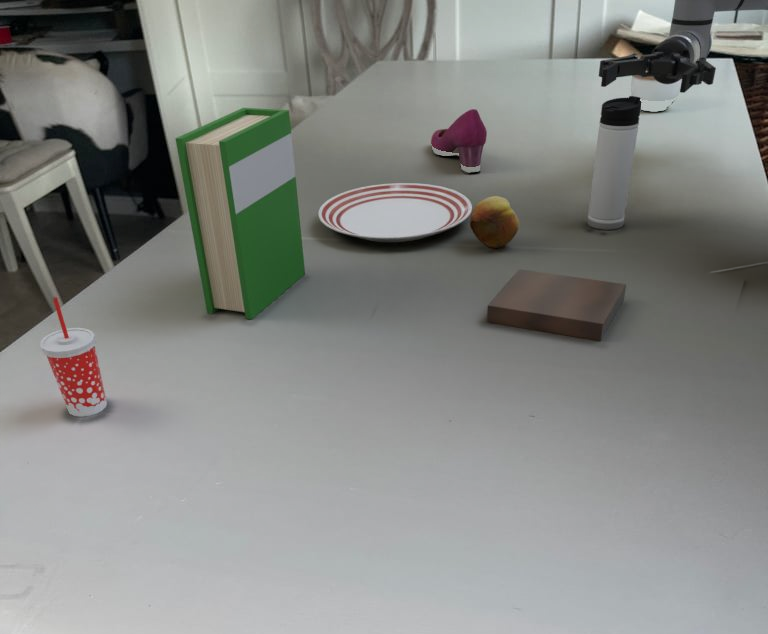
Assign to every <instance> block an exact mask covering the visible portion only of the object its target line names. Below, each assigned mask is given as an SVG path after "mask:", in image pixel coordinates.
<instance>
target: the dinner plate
mask: <svg viewBox="0 0 768 634" xmlns="http://www.w3.org/2000/svg"><path fill="white" fill-rule="evenodd" d="M472 212H473V204H472V202H471V200H470V199H469V198H468V197H467V196H465V195H464V194H462V193H461V192H459V191H458V190H455V189H451V188H449V187H445V186H440V185H434V184H428V183H414V182H410V183H409V182H396V183H394V182H393V183H381V184H372V185H367V186H361V187H357V188H352V189H349V190H346V191H344V192H341V193H338V194H337V195H334V196H333V197H331V198H329V199H328V200H326V201H325V202H324V203H323V204H322V205H321V206H320V207H319V210H318V215H317V216H318V219H319V220H320V222H321V223H322V224H323V226H325V227H327V228H328V229H330V230H332V231H335V232H337V233H340V234H343V235H347V236H350V237H354V238H358V239H361V240H366V241H371V242H378V243H403V242H404V243H405V242H413V241H418V240H423V239H425V238H429V237H431V236H435V235H437V234H442V233H443V232H446V231H448V230H450V229H453V228H455V227H457V226H458V225H460V224H461V223H463V222H464V221H465V220H466V219H468V217H469V216H471V214H472Z"/></svg>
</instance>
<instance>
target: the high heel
mask: <svg viewBox="0 0 768 634" xmlns="http://www.w3.org/2000/svg"><path fill="white" fill-rule="evenodd" d="M487 131H488V130H487V127H486V126H485V124H484V122H483V120H482V117H481V116H480V113H479V111H478V110H477V109H474V108H473V109H472V108H471V109H470V110H467V111H465V112H464V113H462V114H461V115H460V116H458V117H457V118H456V119H455V120H454V121H453V123H451V124H450V126H449V127H448V128H440V129H437V130H435V131H434V132H433V134H432V135H431V140H430V145H431V144H432V146H433V147H434V148H436V149H438V150H441V151H446V152H452V153H459V156H458V157H459V164H460V163H461V164H462V165H463V166H466V167H476V166H479V165H480V164H482V155H483V151H484V146H485V144H486V142H487V134H488V132H487ZM463 173H465V174H467V173H466V172H463Z"/></svg>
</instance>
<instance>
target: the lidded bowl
mask: <svg viewBox="0 0 768 634" xmlns="http://www.w3.org/2000/svg"><path fill="white" fill-rule="evenodd" d="M646 72H648V71H646ZM681 83H682V79H681V80H679V81H678V82H676V83H673V84H662V83H659V82H658V81H656V80H655V79H654V78H653V77H652V76H649V77H641V76H639V75H633V76H631V82H630V94H631V95H630V96H635V97H640V99H642V100H648V101H665V100H671V99H674V98H676V97H677V98H678V96H679V94H680V93H681V92H680V88H681ZM677 98H676V99H677Z"/></svg>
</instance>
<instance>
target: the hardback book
mask: <svg viewBox="0 0 768 634" xmlns="http://www.w3.org/2000/svg"><path fill="white" fill-rule="evenodd" d="M174 139H175V143H176V144H175V145H176V149H177V155H178V156H177V157H178V160H179V165H180V167H179V168H180V171H181V177H182V182H183V188H184V194H185V198H186V205H187V210H188V215H189V221H190V226H191V227H190V228H191V231H192V239H193V242H194V248H195V249H194V250H195V253H196V259H197V265H198V270H199V276H200V280H201V281H200V282H201V286H202V292H203V297H204V304H205V308H206V313H207V314H211V315H213V314H215V313H216V312H217V311H218V310H227V311H234V312H240V313H244V317H245V319H246V320H253V319H254V318H255V317H256V316H257V315H259V314H260V313H261V312H263V310H264V309H266V308H267V307H268V306H269V305H271V304H272V303H273V302H274V301H275V300H277V298H279V297H280V296H281V295H283V294H284V293H285V292H286V291H287V290H288V289H290V288H291V287H292V286H294V284H295V283H297V281H299V280H300V279H301V278H303V277H304V276H305V275H306V267H305V257H304V248H303V239H302V227H301V219H300V218H301V217H300V207H299V199H298V188H297V177H296V168H295V166H296V165H295V157H294V148H293V147H294V146H293V137H292V127H291V117H290V110H289V109H276V108H275V109H274V108H258V107H257V108H256V107H242V108H239V109H237V110H235V111H233V112H230V113H229V114H226V115H224V116H221V117H220V118H217V119H215V120H213V121H211V122H208V123H206V124H204V125H202V126H199V127H197V128H195V129H193V130H191V131H188V132H186V133H184V134H182V135H179V136H177V137H175V138H174Z"/></svg>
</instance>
